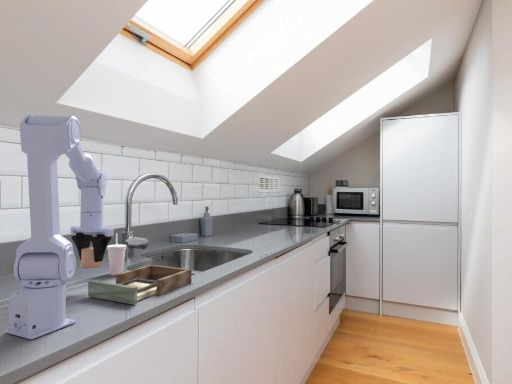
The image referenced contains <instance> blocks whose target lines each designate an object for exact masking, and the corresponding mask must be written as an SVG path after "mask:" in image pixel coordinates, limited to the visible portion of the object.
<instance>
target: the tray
mask: <svg viewBox="0 0 512 384" xmlns="http://www.w3.org/2000/svg"><path fill="white" fill-rule="evenodd" d="M153 295H157V280H152V279H147V280H145V279H138V278H136V279H133V280H129V281H126V282H123V283H120V284H116V283H114V282H106V281H100V280H95V279H91V280H88V281H87V296H88V297H89V298H96V299H101V300H106V301H112V302H118V303H122V304H128V305H132V306H133V305H136V304H138V302H139V301H140V300H141V301H142V300H144V299H146V298H148V297H151V296H153Z"/></svg>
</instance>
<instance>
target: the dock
mask: <svg viewBox="0 0 512 384" xmlns="http://www.w3.org/2000/svg"><path fill="white" fill-rule="evenodd" d="M192 273H193V271H192V269H190V268H183V267H174V266H173V267H172V266H166V265H157V264H149V265H145V266H142V267H139V268H133V269H131V270H127V271H124V272H123V273H119V274H116V275H115V284H120V283H123V282H126V281H129V280H133V279H136V278H138V279H145V280H151V279H155V280H156V281H157V293H156V296H161V295H165V294H166V293H170V292H172V291H174V290H177V289H179V288H182V287H184V286H186V285H188V284H190V283H191V284H192V275H193V274H192ZM176 288H177V289H176ZM171 290H172V291H171Z"/></svg>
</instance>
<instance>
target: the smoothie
mask: <svg viewBox="0 0 512 384" xmlns="http://www.w3.org/2000/svg"><path fill="white" fill-rule="evenodd" d="M118 234H119V233H117V232H116V233H115V244H108V245H107V247H106V250H107V255H108V256H107V257H108V263H109V264H108V265H109V273H110V276H116V274H119V273H123V271H124V264H125V258H126V257H125V256H126V249H128V247H127V244H124V243H123V244H122V243H121V244H120V243H118V240H119V239H118Z"/></svg>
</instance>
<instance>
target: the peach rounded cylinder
mask: <svg viewBox="0 0 512 384" xmlns="http://www.w3.org/2000/svg"><path fill="white" fill-rule="evenodd" d="M80 261H81V264H80V267H81V269H96V268H100V267H101V266H102V261H100V262H95V261H94V250H93V246H90V248H83V249H81V260H80Z"/></svg>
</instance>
